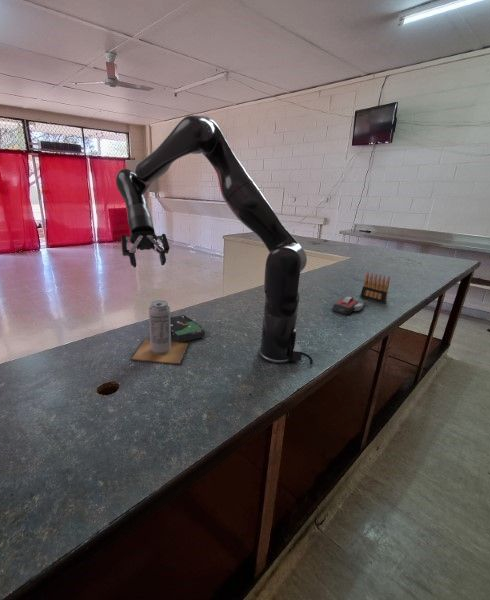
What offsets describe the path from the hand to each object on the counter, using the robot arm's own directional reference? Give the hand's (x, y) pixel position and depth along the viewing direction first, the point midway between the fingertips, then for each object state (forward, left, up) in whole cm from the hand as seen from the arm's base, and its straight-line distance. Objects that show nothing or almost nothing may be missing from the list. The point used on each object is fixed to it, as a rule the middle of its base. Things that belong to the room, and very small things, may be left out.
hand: (149, 265), depth 95 cm
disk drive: (-9, -5, -24) cm, 26 cm away
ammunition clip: (-87, -54, -24) cm, 105 cm away
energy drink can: (-5, +9, -24) cm, 26 cm away
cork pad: (-6, +9, -24) cm, 26 cm away
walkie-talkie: (-73, -42, -24) cm, 88 cm away
